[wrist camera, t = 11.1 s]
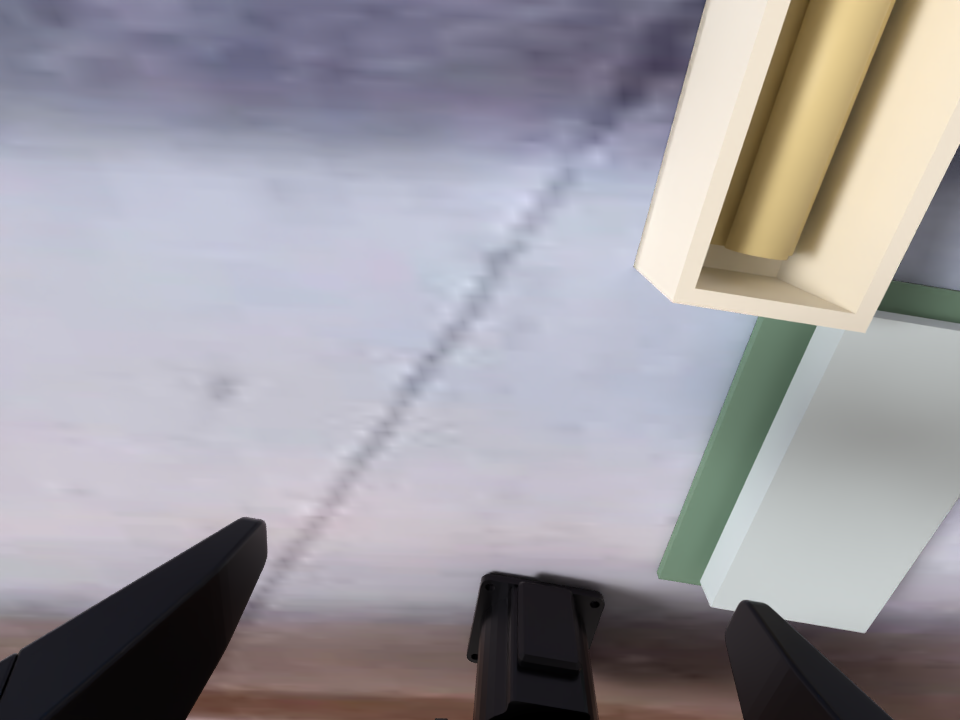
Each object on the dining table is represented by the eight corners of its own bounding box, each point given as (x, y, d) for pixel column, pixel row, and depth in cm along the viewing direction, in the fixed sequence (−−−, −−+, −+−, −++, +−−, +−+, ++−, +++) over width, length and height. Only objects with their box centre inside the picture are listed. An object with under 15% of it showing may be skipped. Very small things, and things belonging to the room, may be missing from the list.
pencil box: (777, 289, 18) (865, 332, 14) (633, 266, 18) (672, 302, 14) (981, -216, 13) (1246, -430, 8) (774, -247, 13) (919, -477, 8)
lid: (834, 592, 23) (865, 633, 21) (694, 568, 23) (710, 607, 21) (1000, 326, 18) (1062, 347, 16) (815, 296, 18) (852, 313, 16)
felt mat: (851, 604, 24) (857, 611, 24) (656, 572, 24) (658, 578, 24) (1045, 304, 18) (1056, 307, 17) (779, 262, 18) (785, 264, 17)
